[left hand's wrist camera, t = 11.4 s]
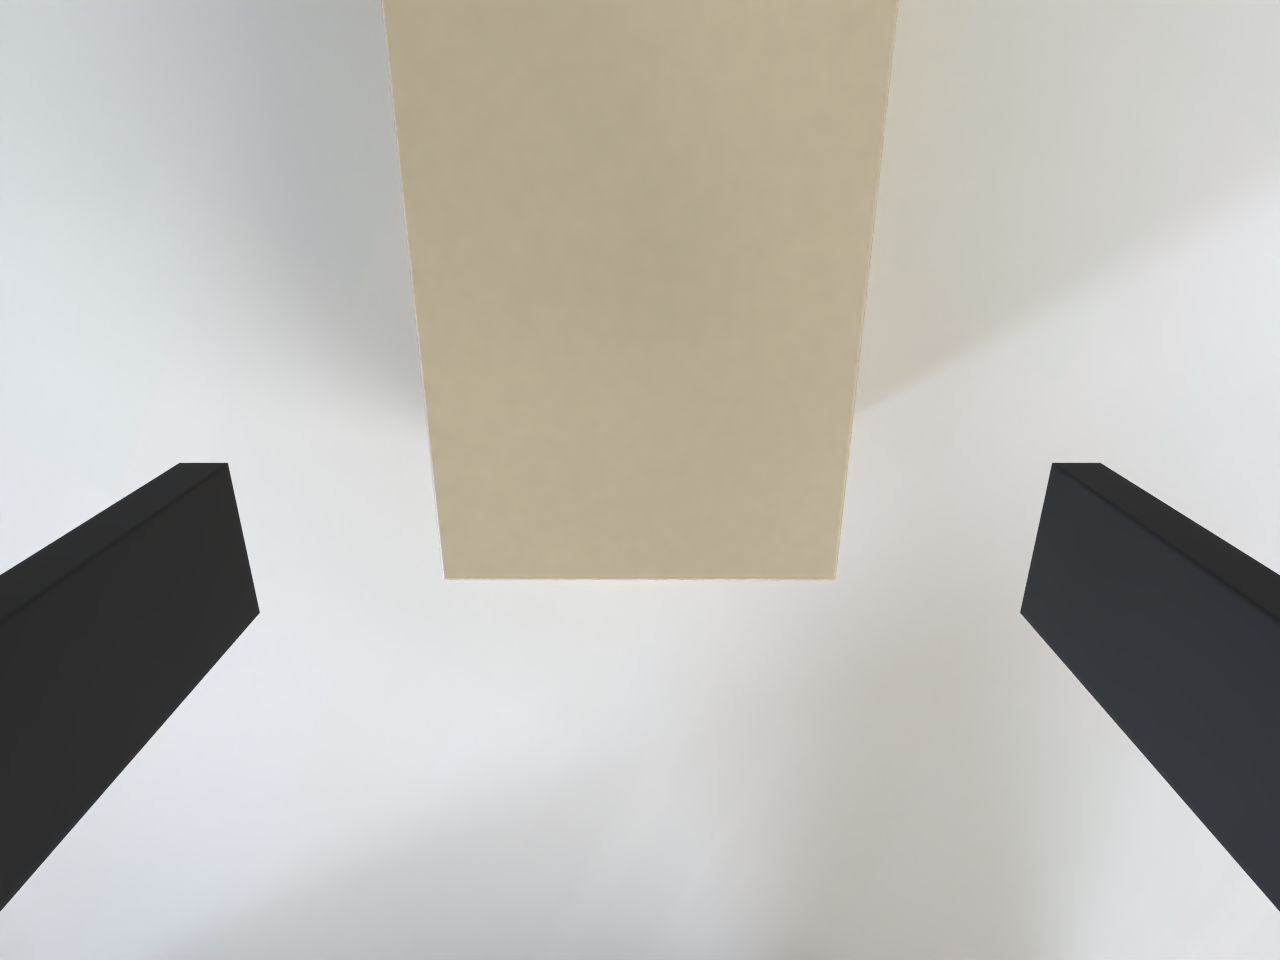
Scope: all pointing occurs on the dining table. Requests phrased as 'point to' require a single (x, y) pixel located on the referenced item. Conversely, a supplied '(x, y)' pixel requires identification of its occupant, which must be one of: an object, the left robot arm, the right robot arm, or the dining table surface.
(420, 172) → the cabinet
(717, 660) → the dining table surface
